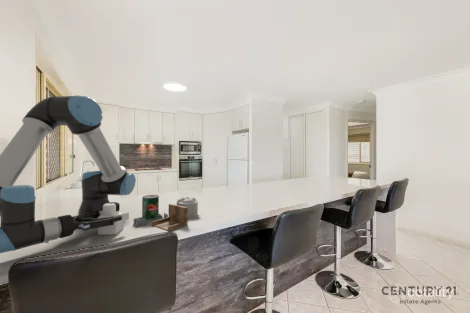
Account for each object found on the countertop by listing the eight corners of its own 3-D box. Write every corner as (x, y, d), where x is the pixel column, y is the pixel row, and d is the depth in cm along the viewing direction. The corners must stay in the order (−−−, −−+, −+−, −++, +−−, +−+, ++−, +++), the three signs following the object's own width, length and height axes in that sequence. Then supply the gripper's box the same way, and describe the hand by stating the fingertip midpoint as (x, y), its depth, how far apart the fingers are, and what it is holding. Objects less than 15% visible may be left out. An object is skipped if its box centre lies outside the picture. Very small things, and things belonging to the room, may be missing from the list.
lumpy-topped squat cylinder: (180, 218, 109) (180, 201, 109) (174, 212, 120) (174, 196, 120) (199, 215, 114) (199, 199, 114) (192, 210, 125) (192, 195, 125)
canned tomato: (153, 220, 105) (153, 198, 104) (138, 219, 106) (138, 197, 106) (161, 216, 112) (161, 195, 112) (148, 215, 114) (148, 194, 114)
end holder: (152, 225, 98) (152, 207, 98) (170, 219, 106) (170, 203, 106) (169, 231, 91) (169, 212, 91) (187, 224, 99) (187, 207, 99)
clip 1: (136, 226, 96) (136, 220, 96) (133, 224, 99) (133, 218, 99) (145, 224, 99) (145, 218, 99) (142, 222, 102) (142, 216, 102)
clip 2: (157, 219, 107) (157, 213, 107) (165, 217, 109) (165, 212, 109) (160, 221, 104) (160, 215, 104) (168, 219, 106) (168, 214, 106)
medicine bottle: (106, 228, 93) (106, 201, 93) (123, 228, 94) (123, 201, 93) (97, 235, 86) (97, 205, 86) (116, 234, 86) (116, 204, 86)
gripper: (47, 231, 81) (109, 217, 100) (69, 246, 69) (136, 227, 87) (47, 211, 81) (109, 201, 100) (69, 223, 68) (136, 208, 87)
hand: (121, 213), depth 93 cm, fingers closed on medicine bottle, 10 cm apart
